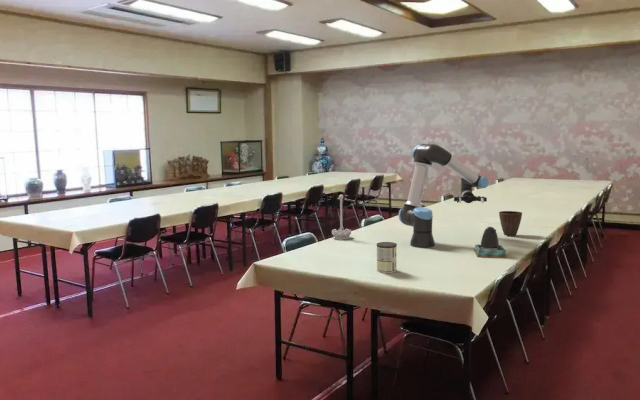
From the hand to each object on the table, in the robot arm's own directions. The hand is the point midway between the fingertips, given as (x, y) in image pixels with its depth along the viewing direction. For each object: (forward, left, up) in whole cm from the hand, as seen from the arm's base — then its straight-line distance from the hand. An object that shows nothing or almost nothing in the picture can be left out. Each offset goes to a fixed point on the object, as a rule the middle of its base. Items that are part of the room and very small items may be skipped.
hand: (471, 200), depth 333 cm
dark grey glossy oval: (+8, -26, -27) cm, 38 cm away
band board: (+8, -26, -28) cm, 39 cm away
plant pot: (+30, +35, -28) cm, 54 cm away
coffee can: (-50, -71, -28) cm, 91 cm away
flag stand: (-84, +13, -28) cm, 89 cm away
